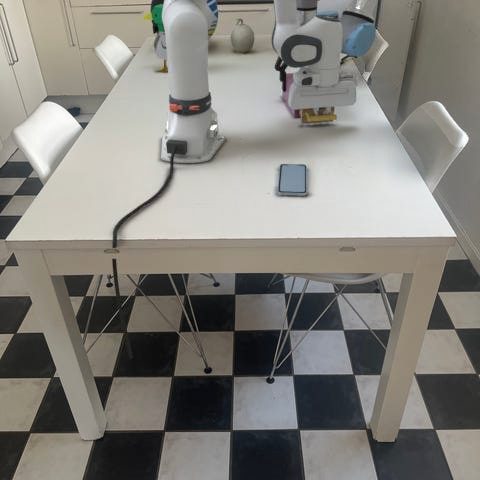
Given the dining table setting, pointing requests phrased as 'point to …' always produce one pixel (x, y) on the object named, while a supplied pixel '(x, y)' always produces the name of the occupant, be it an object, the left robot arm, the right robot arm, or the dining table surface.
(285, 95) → the purple drawer cabinet
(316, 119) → the drawer
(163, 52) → the toy
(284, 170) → the smartphone
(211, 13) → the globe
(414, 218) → the dining table surface
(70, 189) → the dining table surface
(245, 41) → the fruit
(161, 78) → the dining table surface
